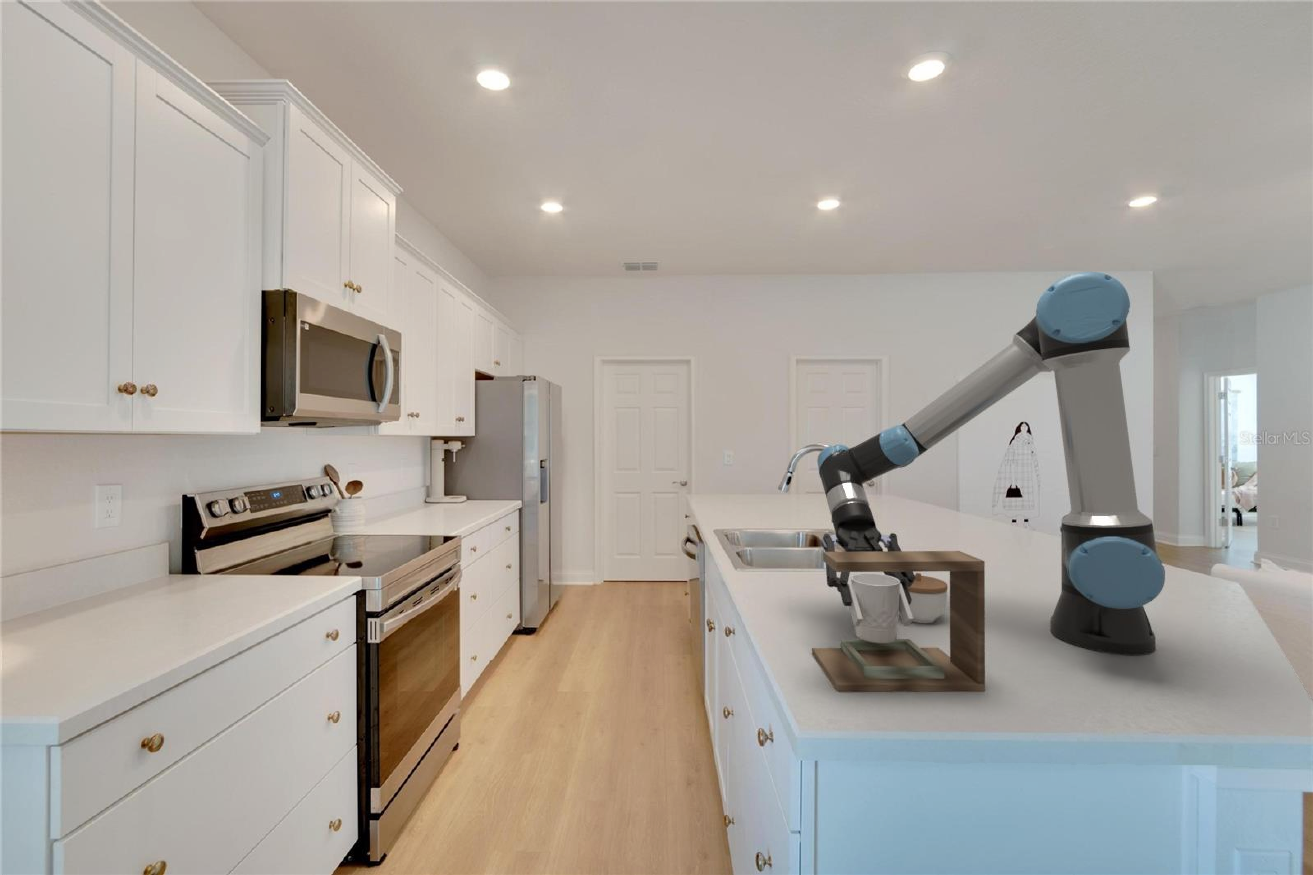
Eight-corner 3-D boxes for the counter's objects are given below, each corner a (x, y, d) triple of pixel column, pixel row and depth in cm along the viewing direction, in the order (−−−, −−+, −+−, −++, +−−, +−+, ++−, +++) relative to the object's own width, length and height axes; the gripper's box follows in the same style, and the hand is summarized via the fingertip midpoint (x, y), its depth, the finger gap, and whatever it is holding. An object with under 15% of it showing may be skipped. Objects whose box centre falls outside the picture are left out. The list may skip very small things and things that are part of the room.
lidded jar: (949, 615, 115) (949, 571, 115) (945, 631, 106) (945, 583, 106) (895, 607, 121) (894, 564, 121) (886, 621, 112) (886, 575, 112)
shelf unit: (937, 653, 96) (937, 542, 96) (984, 691, 82) (984, 561, 82) (812, 653, 96) (811, 543, 96) (837, 691, 82) (836, 562, 82)
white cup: (901, 632, 97) (900, 575, 97) (900, 648, 90) (899, 587, 90) (854, 625, 100) (853, 571, 100) (849, 640, 93) (848, 582, 93)
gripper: (897, 522, 110) (937, 632, 94) (795, 523, 110) (817, 632, 94) (908, 499, 105) (953, 611, 89) (801, 500, 105) (826, 612, 89)
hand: (883, 622), depth 91 cm, fingers closed on white cup, 8 cm apart
